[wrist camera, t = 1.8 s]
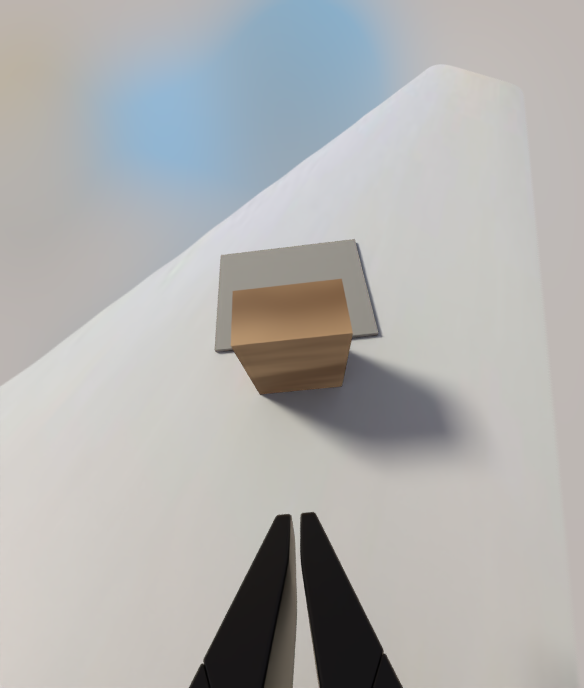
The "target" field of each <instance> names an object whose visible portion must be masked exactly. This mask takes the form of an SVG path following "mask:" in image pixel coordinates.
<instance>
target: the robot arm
mask: <svg viewBox="0 0 584 688" xmlns="http://www.w3.org/2000/svg"><path fill="white" fill-rule="evenodd" d="M300 555H301V567H302V574H303V581H304V588H305V595H306V603H307V610H308V617H309V624H310V631H311V637H312V644H313V651H314V658H315V664H316V671H317V678H318V685H319V688H403V687H402V685H401V683H400V681H399V679H398V677H397V675H396V673H395V671H394V669H393V667H392V665H391V663H390V661H389V659H388V657H387V655H386V654H384V651H383V648H382V646H381V644H380V642H379V640H378V638H377V636H376V634H375V632H374V630H373V628H372V626H371V624H370V622H369V620H368V618H367V616H366V614H365V612H364V610H363V608H362V606H361V604H360V602H359V599H358V597H357V595H356V593H355V591H354V589H353V587H352V585H351V583H350V581H349V579H348V577H347V575H346V573H345V571H344V569H343V567H342V565H341V563H340V561H339V559H338V557H337V555H336V553H335V551H334V549H333V547H332V545H331V543H330V541H329V539H328V537H327V535H326V533H325V531H324V529H323V527H322V525H321V523H320V521H319V519H318V517H317V515H316V514H315V513H314V512H308V513H302V514H301V517H300ZM296 625H297V587H296V555H295V536H294V529H293V522H292V516H291V515H290V514H282V515H277V516H276V517H275V519H274V521H273V523H272V525H271V527H270V529H269V531H268V533H267V535H266V537H265V539H264V541H263V543H262V545H261V547H260V549H259V551H258V553H257V555H256V557H255V559H254V561H253V563H252V565H251V567H250V569H249V571H248V573H247V574H246V576H245V578H244V580H243V582H242V584H241V586H240V588H239V590H238V592H237V594H236V596H235V598H234V600H233V602H232V604H231V606H230V608H229V610H228V612H227V614H226V616H225V618H224V620H223V622H222V624H221V626H220V628H219V630H218V632H217V634H216V636H215V638H214V640H213V642H212V644H211V645H210V647H209V649H208V651H207V653H206V655H205V657H204V660H203V661H204V664H201V665H200V667H199V669H198V671H197V673H196V675H195V677H194V679H193V681H192V683H191V685H190V687H189V688H293V673H294V657H295V641H296Z"/></svg>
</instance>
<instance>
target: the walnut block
mask: <svg viewBox="0 0 584 688" xmlns="http://www.w3.org/2000/svg"><path fill="white" fill-rule="evenodd" d="M352 335H353V331H352V326H351V321H350V316H349V311H348V306H347V302H346V297H345V292H344V287H343V282H342V279H334V280H325V281H316V282H307V283H299V284H290V285H281V286H272V287H263V288H255V289H246V290H237V291H233V294H232V322H231V347H232V349H233V351H234V352H235V354H236V356H237V357H238V359H239V361H240V362H241V364H242V366H243V367H244V369H245V371H246V372H247V374H248V376H249V377H250V379H251V381H252V382H253V384H254V386H255V387H256V389H257V391H258V392H259V394H269V393H279V392H290V391H300V390H310V389H320V388H330V387H341V386H342V383H343V378H344V373H345V369H346V364H347V359H348V354H349V349H350V345H351V340H352Z"/></svg>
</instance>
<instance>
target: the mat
mask: <svg viewBox="0 0 584 688" xmlns="http://www.w3.org/2000/svg"><path fill="white" fill-rule="evenodd" d="M334 279H342V282H343V287H344V292H345V297H346V302H347V306H348V311H349V316H350V321H351V326H352V331H353V335H352V338H353V337H363V336H372V335H378V330H377V326H376V322H375V318H374V314H373V310H372V306H371V302H370V298H369V294H368V290H367V286H366V282H365V278H364V274H363V270H362V266H361V262H360V258H359V254H358V250H357V246H356V242H355V239H352V240H343V241H335V242H327V243H318V244H310V245H302V246H294V247H285V248H277V249H269V250H260V251H252V252H244V253H235V254H227V255H221V260H220V276H219V291H218V307H217V322H216V337H215V351H216V352H220V351H230V350H233V349H232V347H231V322H232V294H233V291H237V290H246V289H255V288H263V287H272V286H281V285H290V284H299V283H307V282H316V281H325V280H334Z"/></svg>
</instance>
